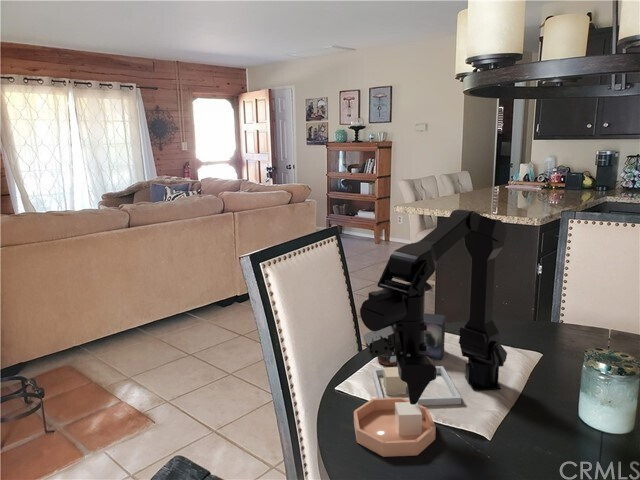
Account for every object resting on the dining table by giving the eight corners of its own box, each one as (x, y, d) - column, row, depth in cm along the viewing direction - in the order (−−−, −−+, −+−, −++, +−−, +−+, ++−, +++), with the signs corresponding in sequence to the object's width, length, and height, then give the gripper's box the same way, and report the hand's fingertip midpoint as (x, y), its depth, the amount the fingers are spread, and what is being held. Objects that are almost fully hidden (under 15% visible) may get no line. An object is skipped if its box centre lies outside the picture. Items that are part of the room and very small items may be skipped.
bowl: (422, 408, 102) (422, 396, 102) (441, 454, 87) (442, 441, 87) (351, 411, 102) (351, 399, 102) (359, 457, 87) (358, 444, 87)
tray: (442, 371, 118) (442, 366, 117) (460, 403, 103) (461, 397, 103) (372, 374, 117) (371, 368, 117) (380, 407, 103) (380, 400, 103)
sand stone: (402, 384, 113) (402, 366, 112) (405, 394, 108) (406, 376, 107) (383, 384, 113) (383, 367, 112) (386, 394, 108) (386, 376, 107)
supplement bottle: (400, 367, 121) (400, 325, 118) (376, 365, 122) (376, 324, 119) (400, 356, 126) (401, 316, 124) (378, 355, 128) (378, 315, 125)
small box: (401, 355, 127) (401, 318, 125) (406, 345, 133) (406, 310, 131) (441, 361, 123) (442, 323, 121) (445, 350, 129) (446, 314, 127)
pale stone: (416, 421, 97) (417, 401, 96) (421, 435, 93) (422, 414, 92) (394, 422, 97) (394, 402, 96) (398, 435, 93) (398, 415, 92)
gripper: (361, 300, 99) (361, 369, 102) (372, 337, 80) (373, 420, 84) (414, 299, 99) (413, 368, 102) (438, 335, 80) (436, 418, 84)
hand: (408, 391), depth 93 cm, fingers open, 9 cm apart
